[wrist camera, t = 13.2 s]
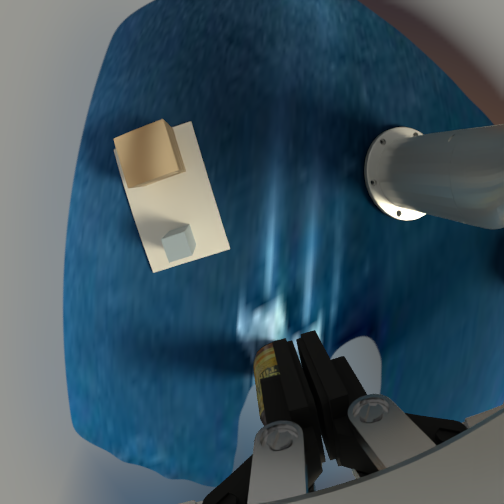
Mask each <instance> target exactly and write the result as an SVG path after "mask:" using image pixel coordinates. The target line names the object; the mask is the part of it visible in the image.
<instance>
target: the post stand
mask: <svg viewBox="0 0 504 504" xmlns="http://www.w3.org/2000/svg"><path fill="white" fill-rule="evenodd" d="M172 128H173V130H174V133H175V137H176V140H177V143H178V146H179V150H180V153H181V156H182V159H183V163H184V166H185V169H186V172H183V173H180V174H177V175H174V176H171V177H169V178H166V179H163V180H160V181H157V182H155V183H152V184H149V185H147V186H144V187H136V188H128V187H127V184H126V180H125V177H124V174H123V171H122V167H121V164H120V160H119V157H118V154H117V150H116V149H114V153H115V157H116V161H117V164H118V168H119V171H120V175H121V178H122V181H123V185H124V188H125V191H126V194H127V198H128V201H129V204H130V207H131V210H132V213H133V216H134V219H135V222H136V225H137V228H138V231H139V234H140V237H141V240H142V243H143V246H144V249H145V251H146V254H147V257H148V260H149V262H150V265H151V268H152V270H153V273H154V272H157V271H161V270H164V269H167V268H170V267H173V266H177V265H180V264H183V263H186V262H189V261H193V260H196V259H199V258H202V257H206V256H209V255H212V254H215V253H219V252H222V251H225V250H228V249H230V247H229V243H228V240H227V237H226V234H225V231H224V228H223V224H222V221H221V218H220V215H219V211H218V208H217V205H216V202H215V198H214V195H213V192H212V189H211V185H210V182H209V179H208V176H207V172H206V169H205V166H204V162H203V159H202V156H201V152H200V149H199V146H198V142H197V139H196V136H195V132H194V129H193V126H192V122H191V121H190V122H187V123H184V124H181V125H178V126H175V127H172Z"/></svg>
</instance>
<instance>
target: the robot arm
mask: <svg viewBox="0 0 504 504" xmlns="http://www.w3.org/2000/svg"><path fill="white" fill-rule="evenodd" d="M380 141H381V143H380ZM364 177H365V182H366V187H367V190H368V192H369V195H370V197H371V198H372V200H373V202H374V203H375V205H376V206H377V207H378V208H379V209H380V210H381V211H382V212H383V213H385V214H386V215H388V216H390V217H392V218H395V219H398V220H405V221H408V220H415V219H418V218H420V217H422V216H424V215H425V214H429V215H433V216H438V217H442V218H446V219H450V220H454V221H458V222H462V223H466V224H470V225H474V226H478V227H482V228H487V229H500V228H504V124H501V125H494V126H486V127H478V128H469V129H461V130H453V131H446V132H439V133H432V134H425V135H423V134H422V133H420V132H419V131H417V130H414V129H412V128H407V127H396V128H392V129H389V130H386V131H384V132H383V133H381V134H380V135H379V136H377V137H376V139H375V140H374V141H373V142H372V144H371V146H370V148H369V149H368V152H367V155H366V158H365V165H364ZM371 181H372V184H371ZM396 212H397V214H396ZM296 341H297V346H298V350H299V355H300V360H301V363H300V360H299V358H298V355H297V352H296V350H295V347H294V344H293V341H288V342H287V341H286V338H285V339H281V340H277V341H273V342H272V345H273V349H274V353H275V357H276V361H277V365H278V369H279V373H280V374H278V375H274V376H270V377H266V378H262V379H260V384H261V391H262V397H263V404H264V410H265V417H266V423H267V425H265V426H264V427H263V428H261V429H260V430H259V431H258V433H257V434H256V437H255V440H254V449H253V454H252V455H251V456H250V457H249V458H248V459H247V460H246V461H245V462H244V463H243V464H242V465H241V466H240V467H239V468H237V469H236V470H235V471H234V472H233V473H232V474H231V475H230V476H229V477H228V478H226V479H225V480H224V481H223V482H222V483H221V484H220V485H218V486H217V487H216V488H215V489H214V490H213V491H212V492H210V494H208V495H207V496H206V497H205V499H204V500H203V501H200V502H195V500H192V501H188V502H185V503H180V504H504V404H503V405H501V406H498V407H496V408H493V409H491V410H488V411H485V412H483V413H480V414H477V415H474V416H471V417H468V418H466V419H465V422H463V423H460V422H458V421H454V420H447V419H440V418H433V417H426V416H420V415H413V414H407V413H404V412H403V411H402V410H401V409H400V408H399V407H398V406H397V405H396V404H395V403H394V402H393V401H392V400H391V399H389V398H388V397H387V396H384V395H380V394H370V395H367V394H366V392H365V390H364V389H363V387H362V385H361V383H360V382H359V380H358V379H357V377H356V375H355V374H354V372H353V370H352V368H351V367H350V365H349V363H348V362H347V360H346V358H345V357H344V356H342V357H339V358H335V359H332V360H330V358H329V356H328V354H327V352H326V350H325V348H324V347H323V345H322V343H321V341H320V339H319V337H318V335H317V333H316V331H315V330H314V331H310V332H307V333H303V334H301V338H299V339H296ZM301 365H302V366H301ZM321 435H322V437H321ZM322 438H323V441H324V444H325V447H326V450H327V453H328V456H329V458H330V460H333V459H336V461H337V464H338V466H344V467H348V468H351V469H352V472H353V475H354V476H355V478H356V479H355V480H352V481H349V482H346V483H343V484H339V485H336V486H333V487H329V488H326V489H322V490H318V491H316V490H315V483H314V482H315V480H316V479H317V478H318V477H319V475H320V474H321V473H322V471H323V470H322V464H321V463H323V462H325V455H324V449H323V443H322Z"/></svg>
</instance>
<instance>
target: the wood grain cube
mask: <svg viewBox="0 0 504 504" xmlns="http://www.w3.org/2000/svg"><path fill="white" fill-rule="evenodd" d="M114 143H115V146H116V150H117V154H118V157H119V160H120V164H121V167H122V171H123V174H124V177H125V180H126V184H127V187H128V188H136V187H144V186H147V185H149V184H152V183H155V182H157V181H160V180H163V179H166V178H169V177H171V176H174V175H177V174H180V173H183V172H186V169H185V166H184V163H183V159H182V156H181V153H180V150H179V146H178V143H177V140H176V137H175V133H174V130H173V128H172V127H171V126H170V125H169V124H168V123H167V122H166V121H165V120H163V119H162V120H159V121H156V122H154V123H151V124H148V125H146V126H143V127H140V128H138V129H135V130H133V131H130V132H128V133H126V134H123V135H121V136H118V137H116V138H114Z"/></svg>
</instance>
